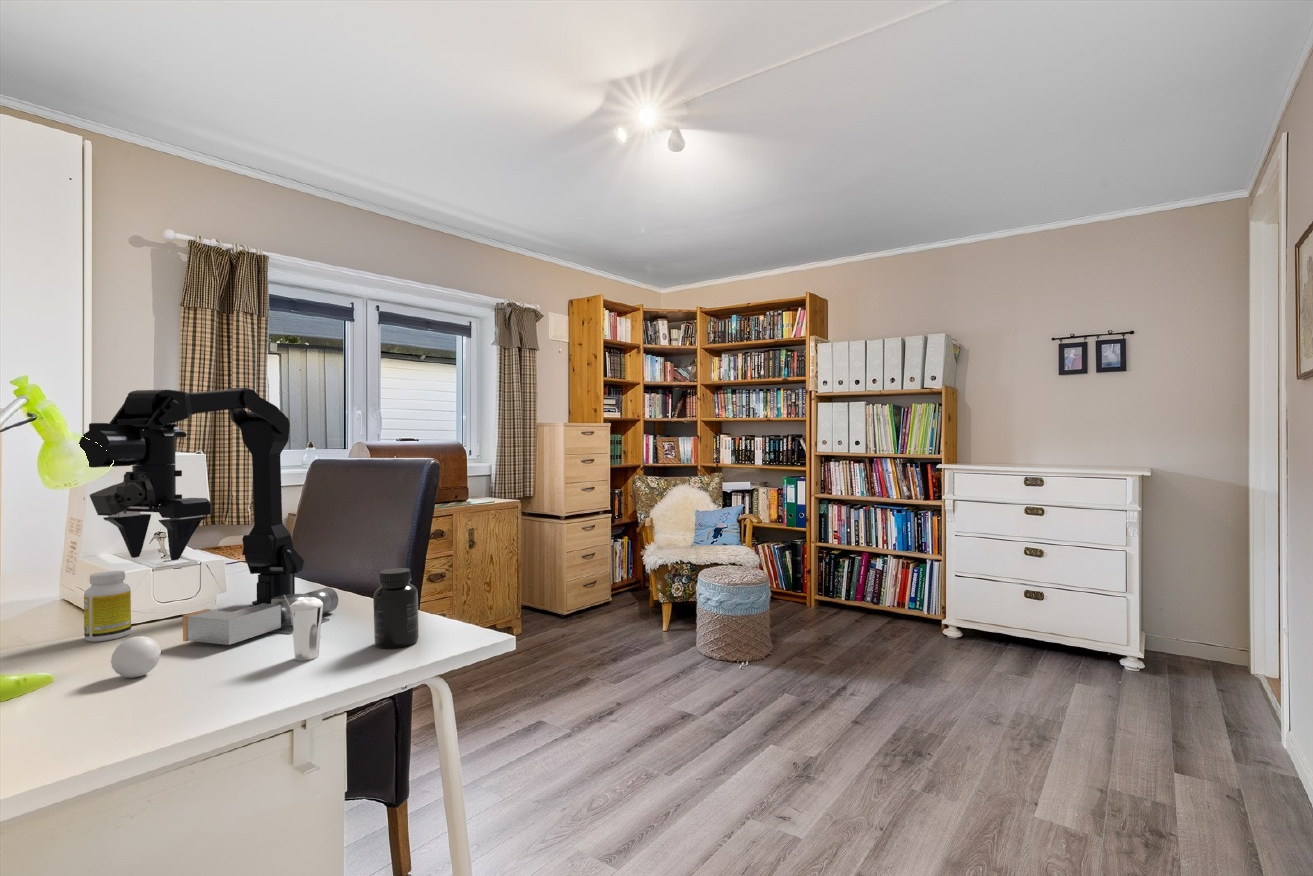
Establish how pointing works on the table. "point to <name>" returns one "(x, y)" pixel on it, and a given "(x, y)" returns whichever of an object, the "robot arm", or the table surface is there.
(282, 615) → the duct stub
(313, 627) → the milkshake
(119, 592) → the pill bottle
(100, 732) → the table surface
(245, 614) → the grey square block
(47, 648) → the table surface
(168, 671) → the table surface
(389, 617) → the supplement bottle
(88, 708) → the table surface
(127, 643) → the white egg
